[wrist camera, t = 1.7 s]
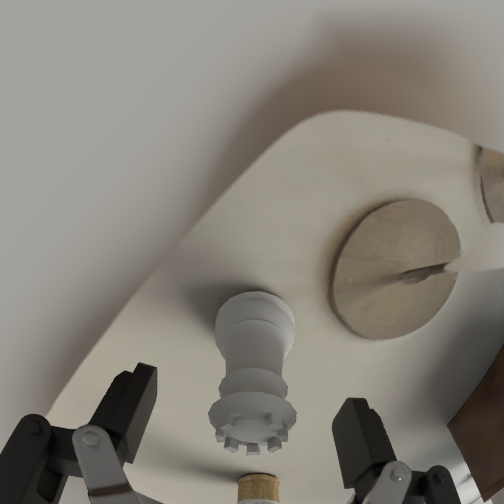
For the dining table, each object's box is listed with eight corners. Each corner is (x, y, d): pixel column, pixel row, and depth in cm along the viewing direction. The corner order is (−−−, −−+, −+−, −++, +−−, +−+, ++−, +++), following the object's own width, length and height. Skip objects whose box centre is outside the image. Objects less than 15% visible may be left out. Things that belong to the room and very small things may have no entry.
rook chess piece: (212, 346, 16) (188, 457, 9) (220, 281, 15) (187, 390, 7) (285, 356, 16) (297, 467, 9) (302, 293, 15) (334, 404, 7)
